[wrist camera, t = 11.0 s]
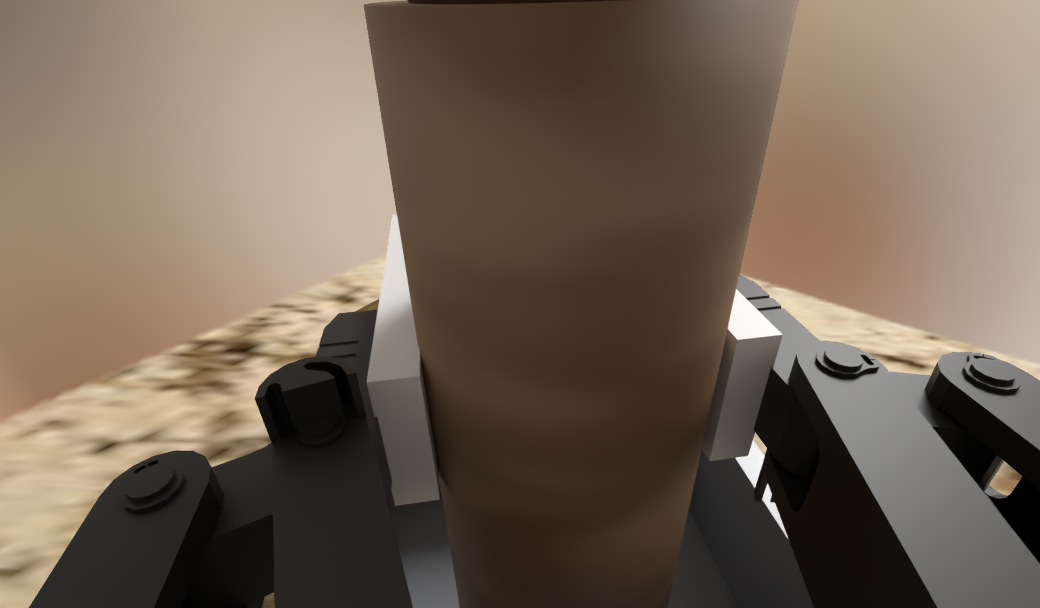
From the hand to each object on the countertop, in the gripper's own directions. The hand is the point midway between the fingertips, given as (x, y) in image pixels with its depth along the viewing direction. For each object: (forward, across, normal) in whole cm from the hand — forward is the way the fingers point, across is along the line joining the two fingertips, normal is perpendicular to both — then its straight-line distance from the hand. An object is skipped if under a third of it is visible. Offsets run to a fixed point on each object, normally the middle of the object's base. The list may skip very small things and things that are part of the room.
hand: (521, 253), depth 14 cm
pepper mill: (-5, 0, -8) cm, 10 cm away
